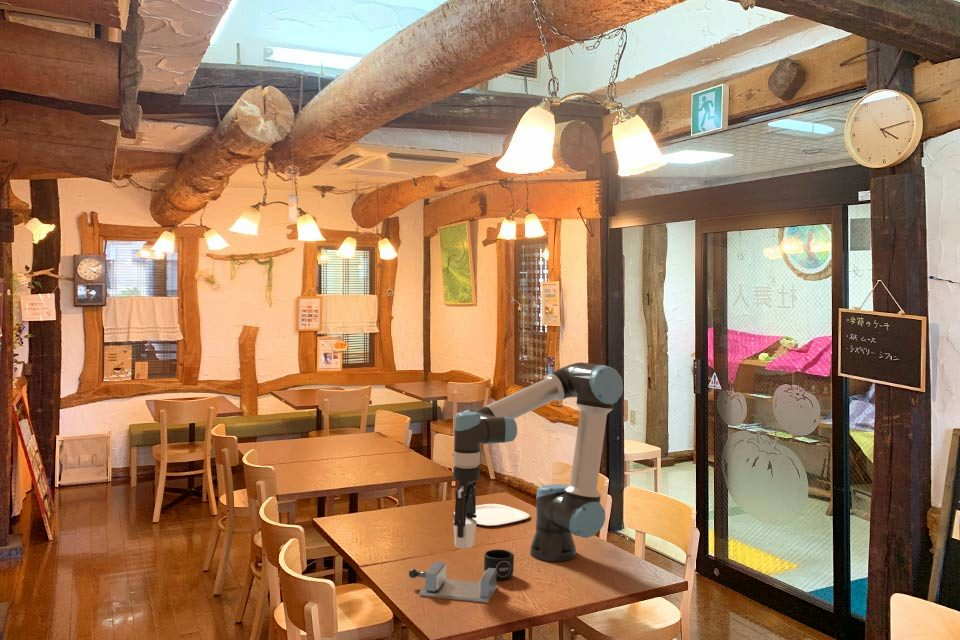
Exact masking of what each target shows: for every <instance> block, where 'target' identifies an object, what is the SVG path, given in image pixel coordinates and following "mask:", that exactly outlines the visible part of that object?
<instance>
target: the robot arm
mask: <svg viewBox="0 0 960 640" xmlns="http://www.w3.org/2000/svg"><path fill="white" fill-rule="evenodd" d="M623 383H624V382H623V379H622V376H621V375H620V373H619V372H618V370H617V369H615V368H614V367H610V366H607V365H604V364H595V363H588V362H574V363H571V364H569V365H566V366H564V367H561V368H559V369H556V370H554V371H552V372H549V373H548V374H547V375H546V376H545V378H544V379H542V380H540V381H537V382H535V383H533V384H531V385H529V386H527V387H524V388H522V389H520V390H518V391H516V392H514V393H511V394H509V395H507V396H504V397H503V398H500V399H498V400H496V401H493V402H492V403H489V404H487V405H485V406H483V407H480V408H478V409H466V410H464V411H460V412H457V413H456V414H455V417H454V425H453V430H454V431H453V433H454V435H453V437H454V440H453V442H454V444H453V448H454V449H453V453H452V455H451V456H452V457H453V464H454V466H453V473H452V474H453V476H452V477H453V479H454V480H456V481H458V482H459V484H458V486H457V490H455V492H454V493H455V506H454V512H455V515H454V520H453V521H454V525H453V527H454V526H457V532H456V546H455V547H456V549H464V550H466V549H467V548H466V525H465V523H466V517H467V518H468V519H473V518H476V516H477V515H474V514H475V513H476V506H477V503H476V495H477V493H476V488H477V487H476V485H477V481H478V480H479V478H480V467H479V465H480V464H481V462H480V461H481V460H480V459H481V453H480V451H481V445H489V444H505V443H509V442H514V441H515V439H516V437H517V434H518V425H517V422H516V420H515V419H518V418H519V417H521V416H523V415H526V414H527V413H530V412H532V411H535V410H537V409H539V408H540V407H543V406H545V405H547V404H550V403H551V402H553V401H558V402H562V401H563V400H565V399H568V398H569V399H570V398H576V406H577V407H578V408H579V418H578V425H577V431H576V436H575V446H574V452H573V460H572V466H571V467H572V469H571V473H570V482H569V484H565V483H561V484H557V483H556V484H544V485H541V486H539V487H538V488H537V491H536V497H535V500H536V506H535V507H536V515H535V524H536V525H535V533H534V535H533V538H532V542H531V543H530V550H529V552H530V555H531V556H532V557H533V558H535V559H538V560H541V561H545V562H546V561H547V562H567V561H570V560H573V559H574V558H576V556H577V548H576V544H575V542H574V541H575V540H574V538H573V535H574V536H576V537H580V538H584V539H587V538H592V537H593V536H596V535H597V533H599V532H600V531H601V530H602V529H603V527H604V525H605V522H606V510H605V509H604V506H603V505H602V504H601V496H602V495H601V493H600V492H599V490H598V483H599V475H600V470H601V469H600V468H601V460H602V454H603V446H604V439H605V430H606V427H607V426H606V424H607V419H608V418H607V417H608V414H609V413H610V412H612V411H613V410H614V404H615V403H617V402H618V401H619V399H621V397H622V395H623V391H624V384H623Z"/></svg>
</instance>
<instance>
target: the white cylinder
mask: <svg viewBox="0 0 960 640" xmlns="http://www.w3.org/2000/svg"><path fill="white" fill-rule="evenodd" d="M476 523H477V521H476V520H473V519H468V518H466V523H465V525H466V548H465V549H470V548H473V547H475V541H476V540H475V539H476V532H477V531H476V530H477V524H476ZM452 524H453V536H454V547H456V532H457V526H454V520H453V523H452Z"/></svg>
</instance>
